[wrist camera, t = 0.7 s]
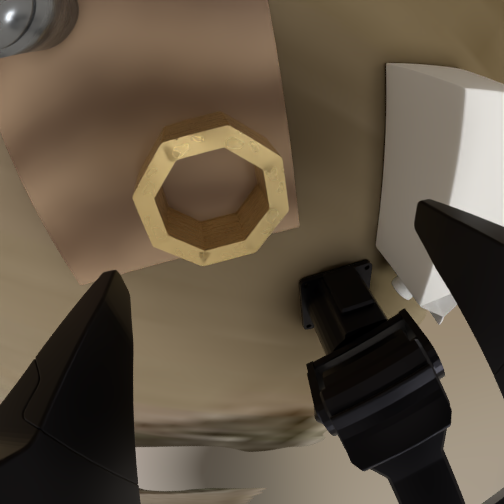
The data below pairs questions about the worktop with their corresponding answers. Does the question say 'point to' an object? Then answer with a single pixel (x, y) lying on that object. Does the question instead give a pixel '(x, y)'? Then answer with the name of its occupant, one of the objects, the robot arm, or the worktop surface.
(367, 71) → the worktop surface
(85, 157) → the copper plate
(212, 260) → the brass ring
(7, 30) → the steel post
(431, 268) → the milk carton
